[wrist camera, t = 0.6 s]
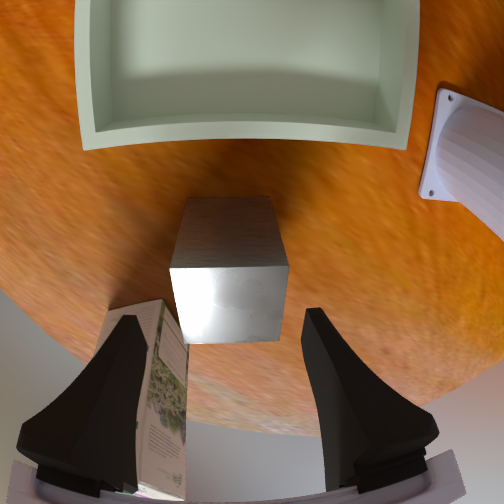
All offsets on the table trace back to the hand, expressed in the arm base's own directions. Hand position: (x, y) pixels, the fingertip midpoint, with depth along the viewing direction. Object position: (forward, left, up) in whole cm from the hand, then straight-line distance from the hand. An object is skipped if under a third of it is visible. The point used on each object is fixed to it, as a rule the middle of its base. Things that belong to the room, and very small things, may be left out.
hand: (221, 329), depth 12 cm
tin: (0, 0, -8) cm, 9 cm away
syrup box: (+7, +9, -9) cm, 14 cm away
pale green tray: (-1, -17, -8) cm, 19 cm away
